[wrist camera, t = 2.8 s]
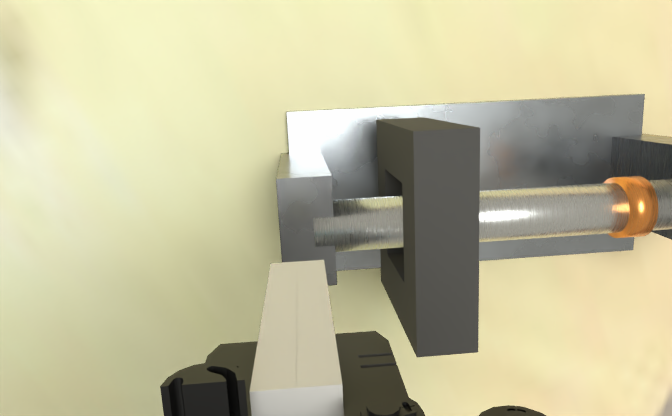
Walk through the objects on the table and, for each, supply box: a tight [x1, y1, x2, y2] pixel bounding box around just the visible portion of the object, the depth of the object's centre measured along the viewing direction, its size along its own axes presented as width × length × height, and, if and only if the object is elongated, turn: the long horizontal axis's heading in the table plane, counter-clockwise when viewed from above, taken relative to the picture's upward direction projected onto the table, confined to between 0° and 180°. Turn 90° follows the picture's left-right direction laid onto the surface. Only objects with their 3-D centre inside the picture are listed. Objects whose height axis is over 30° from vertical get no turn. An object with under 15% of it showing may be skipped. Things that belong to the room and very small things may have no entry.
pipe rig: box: [276, 94, 672, 285], centre depth 29 cm, size 23×10×10 cm, turn 93°
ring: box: [376, 117, 480, 357], centre depth 25 cm, size 2×9×9 cm, turn 3°
